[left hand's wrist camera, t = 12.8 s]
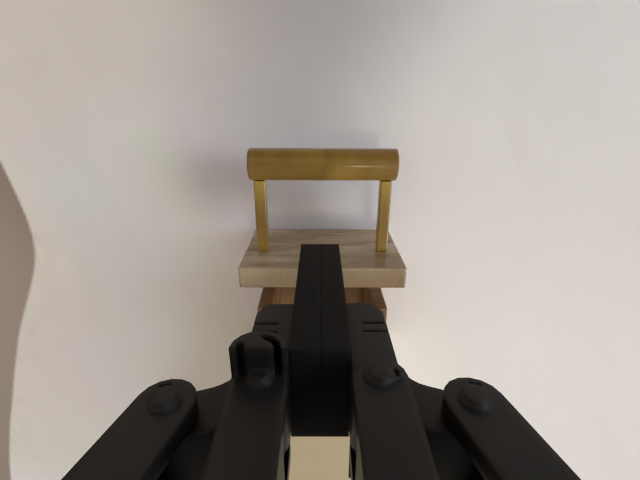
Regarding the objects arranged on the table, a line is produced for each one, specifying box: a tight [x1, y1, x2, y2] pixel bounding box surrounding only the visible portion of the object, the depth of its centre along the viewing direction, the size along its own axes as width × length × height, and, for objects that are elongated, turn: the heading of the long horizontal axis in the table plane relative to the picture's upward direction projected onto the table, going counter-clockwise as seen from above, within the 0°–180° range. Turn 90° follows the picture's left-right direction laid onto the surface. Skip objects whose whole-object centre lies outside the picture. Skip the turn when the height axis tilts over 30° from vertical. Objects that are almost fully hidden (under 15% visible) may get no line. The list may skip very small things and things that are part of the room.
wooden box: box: [289, 436, 351, 480], centre depth 29 cm, size 18×10×8 cm, turn 0°
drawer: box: [238, 148, 407, 321], centre depth 25 cm, size 23×9×6 cm, turn 0°
